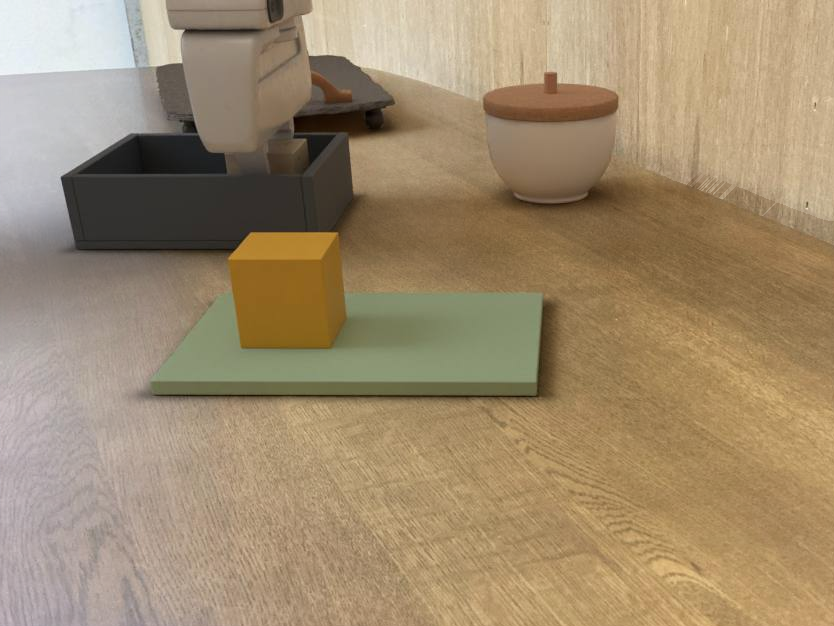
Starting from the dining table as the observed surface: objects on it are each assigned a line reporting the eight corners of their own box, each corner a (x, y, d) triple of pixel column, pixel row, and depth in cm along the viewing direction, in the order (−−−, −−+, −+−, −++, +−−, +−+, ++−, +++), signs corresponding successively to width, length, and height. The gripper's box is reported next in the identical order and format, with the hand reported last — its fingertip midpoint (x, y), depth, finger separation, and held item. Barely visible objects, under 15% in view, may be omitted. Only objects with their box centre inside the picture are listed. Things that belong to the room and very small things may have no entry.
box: (75, 249, 82) (59, 176, 79) (142, 197, 94) (130, 133, 92) (319, 249, 81) (311, 176, 79) (353, 196, 94) (348, 132, 91)
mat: (152, 395, 59) (149, 380, 59) (223, 304, 71) (221, 292, 71) (536, 396, 59) (536, 381, 58) (543, 304, 71) (543, 292, 70)
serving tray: (157, 87, 140) (147, 32, 137) (344, 75, 146) (339, 23, 143) (170, 152, 108) (158, 82, 105) (408, 134, 114) (404, 68, 111)
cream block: (234, 222, 85) (224, 153, 83) (250, 204, 90) (241, 138, 87) (300, 222, 85) (292, 153, 83) (313, 204, 89) (306, 138, 87)
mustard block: (240, 348, 63) (227, 258, 60) (262, 317, 67) (250, 232, 64) (331, 348, 62) (321, 259, 60) (346, 317, 67) (338, 232, 64)
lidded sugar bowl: (465, 188, 96) (460, 68, 91) (576, 173, 100) (577, 58, 95) (521, 218, 88) (519, 89, 83) (640, 200, 92) (645, 76, 87)
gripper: (239, -26, 88) (262, 158, 95) (155, 3, 71) (192, 226, 78) (320, -27, 88) (337, 158, 95) (256, 2, 71) (284, 225, 78)
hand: (271, 189), depth 86 cm, fingers closed on cream block, 5 cm apart
